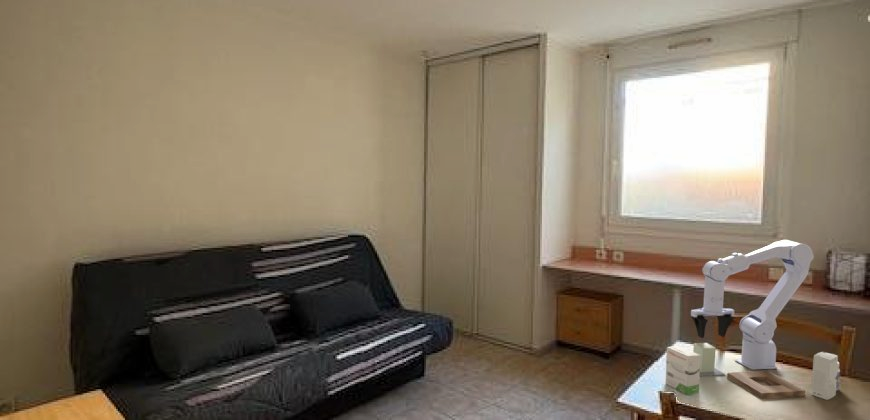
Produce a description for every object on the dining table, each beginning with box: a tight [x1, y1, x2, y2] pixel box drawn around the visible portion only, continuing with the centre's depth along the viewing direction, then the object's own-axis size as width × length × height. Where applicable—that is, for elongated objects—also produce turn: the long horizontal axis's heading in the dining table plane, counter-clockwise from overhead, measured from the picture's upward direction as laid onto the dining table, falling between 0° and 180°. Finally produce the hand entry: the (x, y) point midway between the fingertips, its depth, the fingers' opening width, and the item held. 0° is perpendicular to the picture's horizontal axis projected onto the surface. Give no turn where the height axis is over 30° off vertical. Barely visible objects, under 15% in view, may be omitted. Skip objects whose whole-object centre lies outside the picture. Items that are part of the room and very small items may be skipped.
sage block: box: [692, 342, 716, 372], centre depth 162 cm, size 4×4×8 cm
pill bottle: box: [836, 361, 841, 391], centre depth 150 cm, size 5×5×8 cm
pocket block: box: [726, 370, 806, 399], centre depth 151 cm, size 14×14×2 cm
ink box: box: [665, 345, 700, 396], centre depth 149 cm, size 9×5×12 cm, turn 20°
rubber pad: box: [699, 367, 726, 378], centre depth 162 cm, size 9×9×1 cm
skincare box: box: [810, 351, 839, 401], centre depth 145 cm, size 6×4×12 cm
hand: (711, 336), depth 167 cm, fingers open, 7 cm apart
